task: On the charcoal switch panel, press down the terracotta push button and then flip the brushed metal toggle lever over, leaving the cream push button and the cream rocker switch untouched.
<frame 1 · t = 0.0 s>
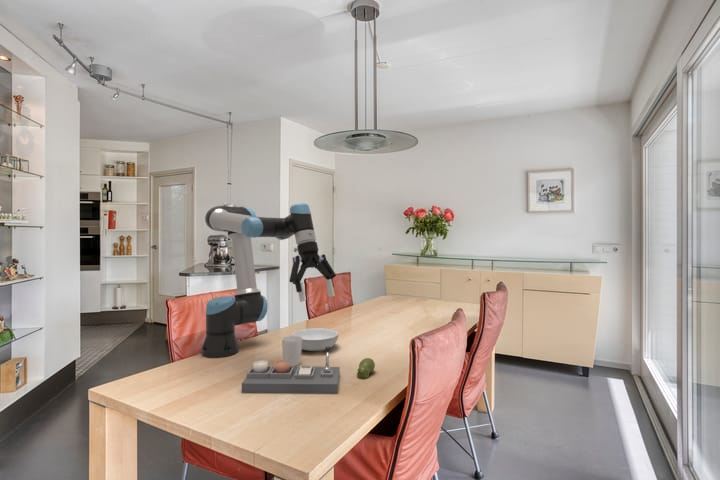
hand: (318, 298, 141), 28 cm above the table, tool tilted 20°, fingers open, 13 cm apart
toggle lever: (327, 358, 134), point 8 cm above the table, hinge at -25.0°
white cup: (291, 363, 153), on the table
rocker switch: (305, 371, 133), point 4 cm above the table, hinge at 12.0°
switch panel: (293, 383, 133), on the table
serving bowl: (315, 348, 173), on the table
terracotta button: (282, 366, 133), point 6 cm above the table, slide at 0.0 cm
green rounded piece: (365, 375, 142), on the table
cream button: (260, 366, 132), point 6 cm above the table, slide at 0.0 cm
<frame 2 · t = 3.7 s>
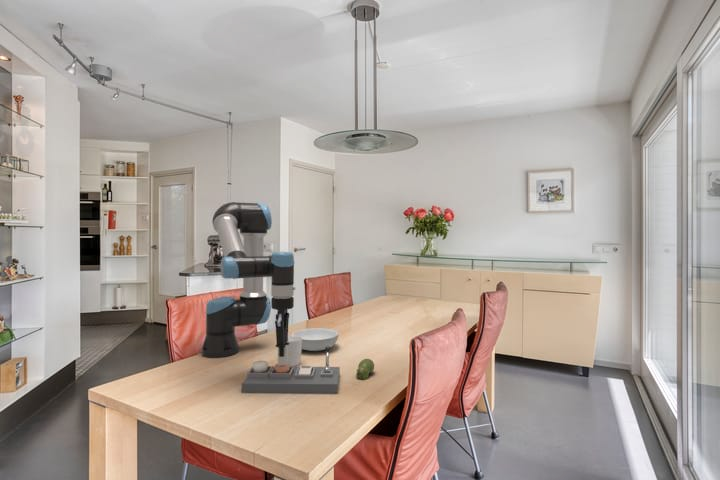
hand: (282, 364, 132), 6 cm above the table, tool pointing down, fingers closed
terracotta button: (282, 369, 133), point 5 cm above the table, slide at 0.9 cm
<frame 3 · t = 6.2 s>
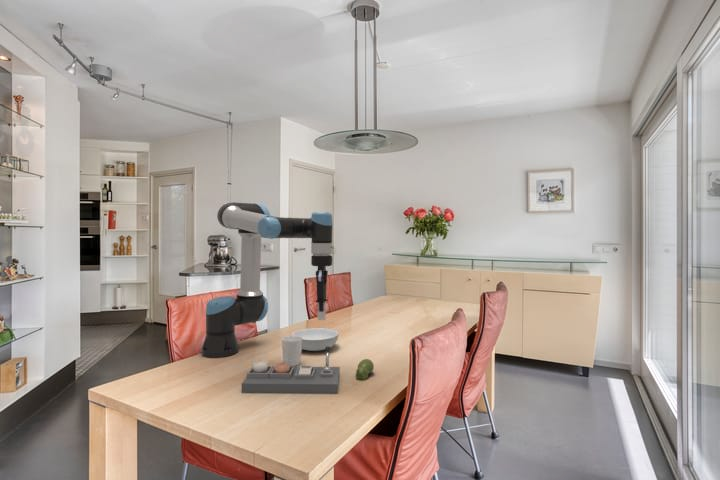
hand: (321, 319, 139), 21 cm above the table, tool pointing down, fingers closed
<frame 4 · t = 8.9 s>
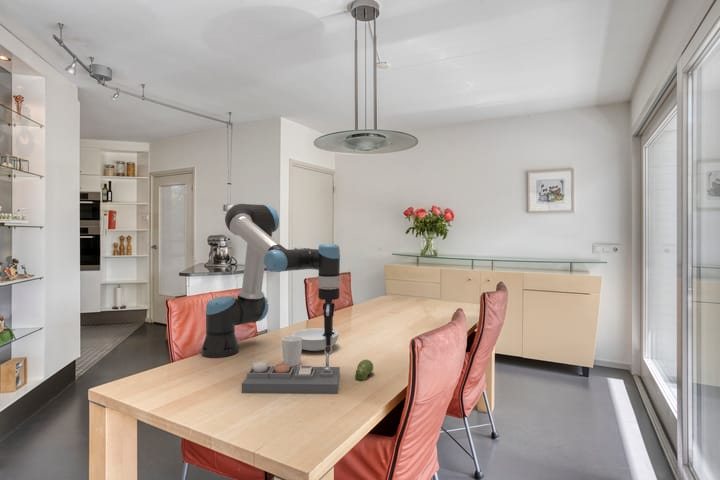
hand: (328, 353, 137), 9 cm above the table, tool pointing down, fingers closed
toggle lever: (327, 358, 134), point 8 cm above the table, hinge at -25.0°, touching gripper
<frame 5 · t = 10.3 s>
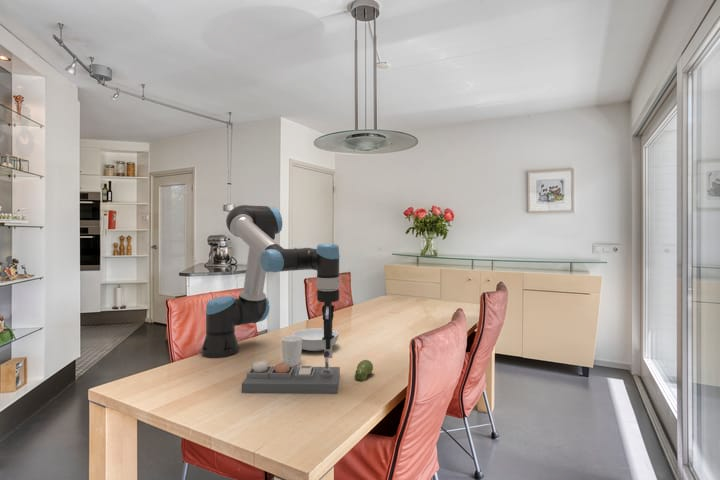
hand: (328, 357, 132), 9 cm above the table, tool pointing down, fingers closed
toggle lever: (326, 361, 131), point 8 cm above the table, hinge at 24.1°, touching gripper
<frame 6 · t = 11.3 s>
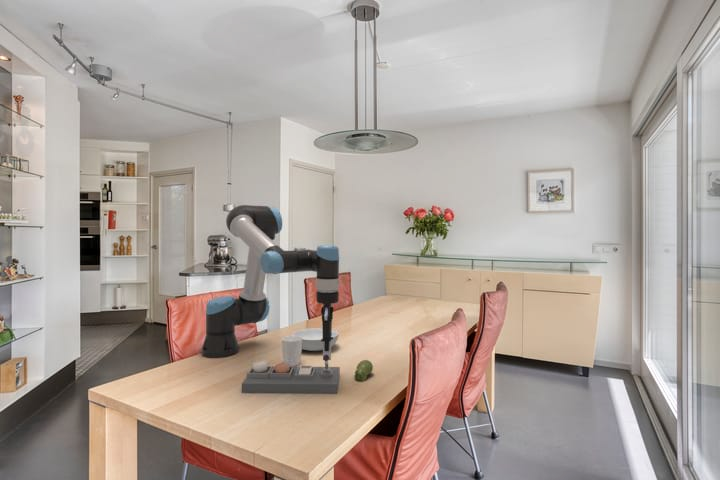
hand: (327, 359, 131), 9 cm above the table, tool pointing down, fingers closed
toggle lever: (326, 363, 130), point 8 cm above the table, hinge at 37.3°
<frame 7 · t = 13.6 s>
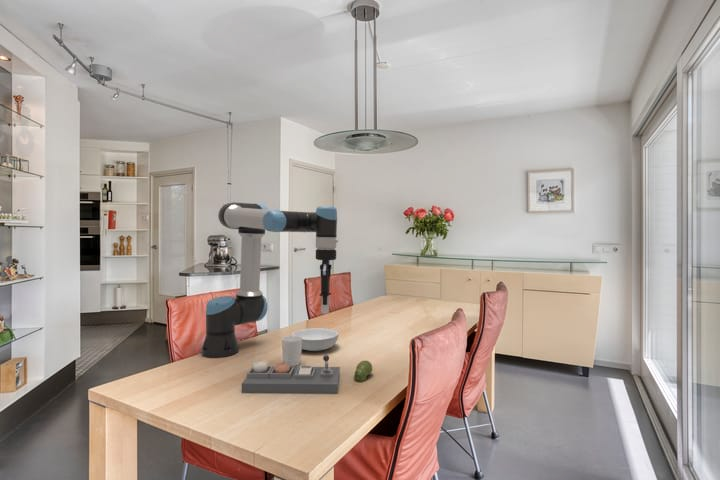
hand: (324, 313, 141), 23 cm above the table, tool pointing down, fingers closed
toggle lever: (326, 363, 130), point 8 cm above the table, hinge at 37.8°
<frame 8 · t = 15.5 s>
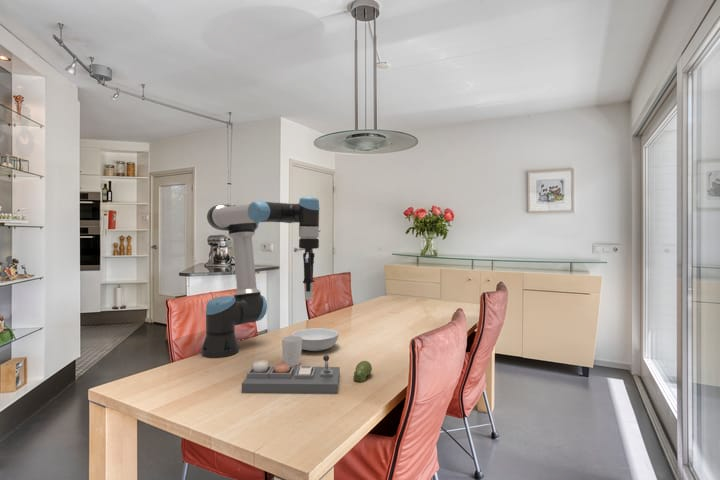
hand: (308, 299, 147), 26 cm above the table, tool pointing down, fingers closed
at the end: terracotta button slide at 1.0 cm; toggle lever at +38° (first picture: -25°); rocker switch at +12° (first picture: +12°) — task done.
